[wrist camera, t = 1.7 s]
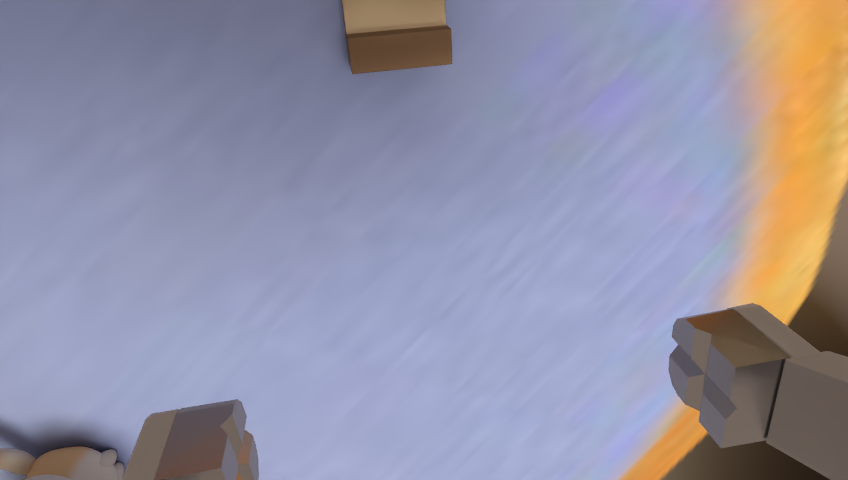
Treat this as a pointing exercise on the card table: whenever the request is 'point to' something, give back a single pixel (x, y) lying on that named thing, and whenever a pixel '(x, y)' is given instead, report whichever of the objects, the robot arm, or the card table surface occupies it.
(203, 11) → the card table surface
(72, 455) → the kitten
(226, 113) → the card table surface
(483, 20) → the card table surface
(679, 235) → the card table surface
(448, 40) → the rail
